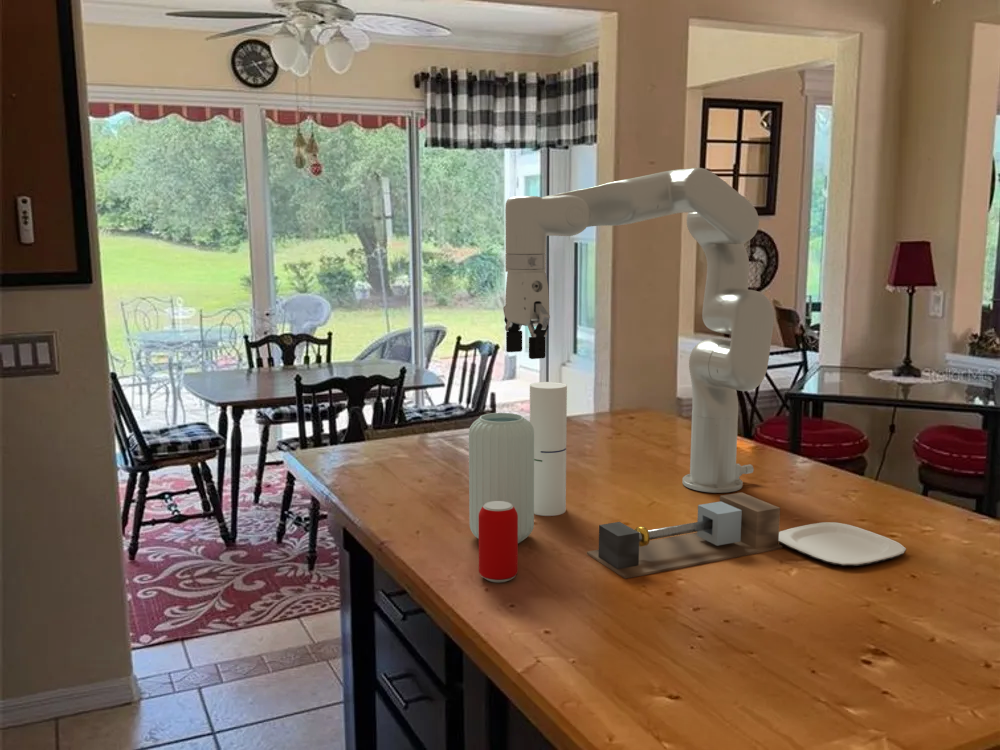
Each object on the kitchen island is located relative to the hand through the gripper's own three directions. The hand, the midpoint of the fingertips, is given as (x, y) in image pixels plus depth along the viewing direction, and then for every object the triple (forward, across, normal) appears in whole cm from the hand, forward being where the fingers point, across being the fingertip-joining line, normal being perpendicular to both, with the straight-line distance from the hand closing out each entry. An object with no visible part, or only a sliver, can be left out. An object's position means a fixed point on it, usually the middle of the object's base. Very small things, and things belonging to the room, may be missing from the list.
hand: (525, 354), depth 169 cm
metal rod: (+29, -30, -15) cm, 44 cm away
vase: (+31, -11, +10) cm, 35 cm away
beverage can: (+31, -27, +18) cm, 45 cm away
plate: (+32, -40, -41) cm, 65 cm away
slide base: (+31, -30, -16) cm, 46 cm away
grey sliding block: (+30, -30, -23) cm, 48 cm away
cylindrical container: (+31, 0, -5) cm, 32 cm away
